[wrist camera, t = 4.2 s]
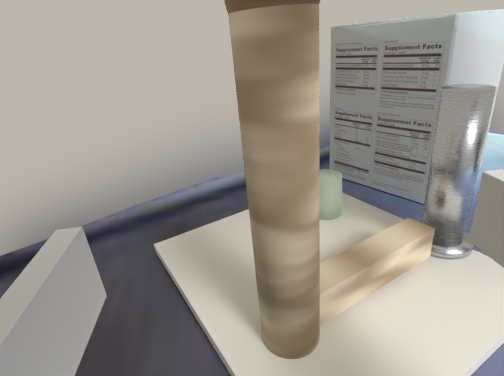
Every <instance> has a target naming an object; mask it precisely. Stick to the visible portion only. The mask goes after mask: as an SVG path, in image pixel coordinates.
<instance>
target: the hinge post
mask: <svg viewBox="0 0 504 376" xmlns="http://www.w3.org/2000/svg"><path fill="white" fill-rule="evenodd" d="M495 92H496V87H495V86H492V85H484V84H456V85H448V86H443V87H442V88H441V93H440V100H439V107H438V113H437V120H436V127H435V134H434V140H433V147H432V154H431V160H430V167H429V174H428V180H427V187H426V194H425V201H424V207H423V214H422V221H421V223H423V224H425V225H428V226H430V227H432V228H435V230H434V236H433V242H432V248H431V254H430V256H432V257H435V258H440V259H448V260H455V259H462V258H465V257H467V256H469V255H470V254H471V253H472V250H473V244H472V243H470V242H469V241H468V237H469V234H468V233H467V232H466V231H465V230H466V225H467V221H468V216H469V212H470V207H471V202H472V198H473V193H474V189H475V184H476V179H477V175H478V170H479V166H480V161H481V156H482V152H483V147H484V143H485V138H486V133H487V129H488V124H489V120H490V115H491V110H492V106H493V101H494V97H495Z"/></svg>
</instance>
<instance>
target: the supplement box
mask: <svg viewBox="0 0 504 376" xmlns="http://www.w3.org/2000/svg"><path fill="white" fill-rule="evenodd" d="M503 63H504V9H501V10H486V11H473V12H461V13H449V14H438V15H428V16H419V17H410V18H401V19H392V20H385V21H376V22H367V23H359V24H351V25H342V26H334V27H331V90H330V91H331V92H330V93H331V94H330V156H329V169H333V170H337V171H340V172H341V173H342V178H344V179H347V180H350V181H353V182H356V183H359V184H363V185H366V186H369V187H372V188H375V189H378V190H381V191H384V192H387V193H391V194H394V195H397V196H400V197H403V198H406V199H409V200H413V201H416V202H419V203H422V204H424V201H425V194H426V187H427V180H428V174H429V167H430V160H431V154H432V147H433V140H434V134H435V127H436V120H437V113H438V107H439V100H440V93H441V88H442V87H443V86H448V85H456V84H484V85H492V86H495V87H496V92H495V97H494V101H493V106H492V110H491V115H490V120H489V124H488V129H487V133H486V138H485V143H484V147H483V152H482V156H481V161H480V166H479V169H480V168H481V164H482V160H483V155H484V150H485V145H486V141H487V136H488V132H489V127H490V122H491V118H492V113H493V108H494V103H495V99H496V95H497V90H498V86H499V81H500V77H501V72H502V67H503Z"/></svg>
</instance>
